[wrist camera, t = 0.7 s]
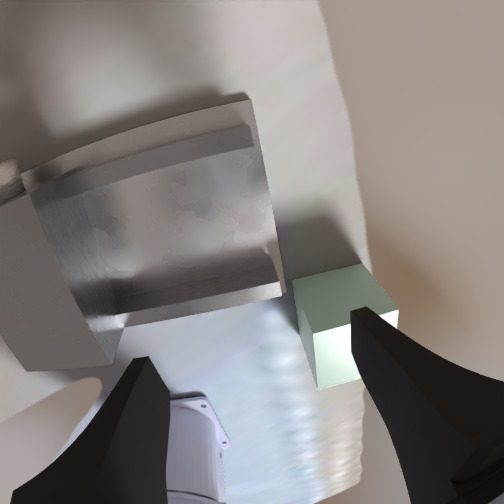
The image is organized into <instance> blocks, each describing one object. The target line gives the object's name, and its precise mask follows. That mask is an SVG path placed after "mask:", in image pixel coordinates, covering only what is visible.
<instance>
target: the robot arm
mask: <svg viewBox="0 0 504 504" xmlns="http://www.w3.org/2000/svg"><path fill="white" fill-rule="evenodd" d="M350 322H351V353H352V356H353V358H354V361H355V364H356V366H357V369H358V371H359V374H360V376H361V378H362V380H363V382H364V384H365V386H366V388H367V389H368V391H369V393H370V395H371V397H372V399H373V401H374V403H375V405H376V407H377V409H378V410H379V412H380V414H381V416H382V418H383V420H384V422H385V424H386V426H387V429H388V431H389V434H390V436H391V439H392V442H393V445H394V447H395V450H396V453H397V456H398V459H399V462H400V465H401V468H402V472H403V475H404V479H405V482H406V486H407V489H408V493H409V497H410V501H411V504H504V382H503V381H500V380H496V379H493V378H490V377H486V376H483V375H480V374H478V373H475V372H473V371H470V370H468V369H465V368H463V367H461V366H458V365H456V364H454V363H452V362H450V361H448V360H446V359H444V358H442V357H440V356H438V355H437V354H435V353H433V352H431V351H430V350H428V349H426V348H425V347H423V346H421V345H420V344H418V343H417V342H415V341H414V340H412V339H411V338H409V337H408V336H406V335H405V334H404V333H402V332H401V331H399V330H398V329H396V328H395V327H394V326H392V325H391V324H390V323H388V322H387V321H386V320H384V319H383V318H382V317H380V316H379V315H378V314H376V313H375V312H374V311H372V310H371V309H370V308H368V307H367V306H365V307H362V308H359V309H355V310H352V311H350ZM228 448H231V442H230V441H229V439H228V437H227V435H226V433H225V431H224V430H223V428H222V426H221V424H220V422H219V420H218V418H217V417H216V415H215V413H214V411H213V409H212V407H211V405H210V403H209V401H208V399H207V398H206V397H203V396H200V397H193V398H185V399H177V400H170V391H169V390H168V388H167V387H166V385H165V383H164V382H163V380H162V378H161V377H160V375H159V373H158V372H157V370H156V368H155V367H154V365H153V363H152V362H151V360H150V358H149V356H147V357H141V358H134V359H133V360H132V362H131V363H130V364H129V366H128V367H127V369H126V370H125V372H124V374H123V375H122V377H121V378H120V380H119V381H118V383H117V384H116V386H115V387H114V389H113V390H112V392H111V393H110V395H109V396H108V398H107V399H106V401H105V402H104V404H103V405H102V407H101V408H100V409H99V411H98V412H97V414H96V415H95V416H94V418H93V419H92V420H91V422H90V423H89V424H88V426H87V427H86V428H85V429H84V431H83V432H82V433H81V434H80V435H79V436H78V438H77V439H76V440H75V441H74V442H73V443H72V444H71V445H70V446H69V447H68V448H67V449H66V450H65V451H64V452H63V453H62V454H61V455H60V456H59V457H58V458H57V459H56V460H55V461H54V462H53V463H52V464H50V465H49V466H48V467H47V468H46V469H45V470H43V471H42V472H41V473H39V474H38V475H37V476H35V477H34V478H33V479H31V480H30V481H28V482H26V483H25V484H23V485H22V486H21V487H19V488H17V489H15V490H14V491H13V494H12V498H11V502H10V504H226V502H223V501H224V498H225V480H224V466H223V450H222V449H228Z"/></svg>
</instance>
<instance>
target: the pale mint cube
mask: <svg viewBox="0 0 504 504" xmlns="http://www.w3.org/2000/svg"><path fill="white" fill-rule="evenodd" d="M292 286H293V293H294V299H295V306H296V313H297V320H298V327H299V334H300V338H301V341H302V344H303V347H304V350H305V353H306V356H307V359H308V362H309V365H310V368H311V371H312V374H313V377H314V380H315V383H316V386H317V389H318V390H322V389H325V388H329V387H333V386H336V385H340V384H343V383H346V382H350V381H353V380H356V379H360V378H361V376H360V374H359V371H358V369H357V366H356V364H355V361H354V358H353V356H352V353H351V322H350V311H352V310H355V309H359V308H362V307H365V306H367V307H368V308H370V309H371V310H372V311H374V312H375V313H376V314H378V315H379V316H380V317H382V318H383V319H384V320H386V321H387V322H388V323H390V324H391V325H392V326H394V327H395V328H396V329H397V321H398V311H399V309H398V308H397V307H396V305H395V304H394V303H393V301H392V300H391V299H390V298H389V296H388V295H387V294H386V292H385V291H384V290H383V288H382V287H381V286H380V285H379V283H378V282H377V281H376V280H375V278H374V277H373V276H372V275H371V273H370V272H369V271H368V270H367V268H366V267H365V266H364V265H363V263H360V264H356V265H352V266H348V267H344V268H340V269H336V270H332V271H328V272H323V273H319V274H315V275H311V276H307V277H302V278H298V279H294V280H292Z"/></svg>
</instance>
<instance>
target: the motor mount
mask: <svg viewBox="0 0 504 504" xmlns="http://www.w3.org/2000/svg"><path fill="white" fill-rule="evenodd" d="M282 293H287V291H286V285H285V279H284V273H283V267H282V261H281V255H280V249H279V243H278V238H277V232H276V226H275V221H274V215H273V210H272V204H271V199H270V193H269V188H268V182H267V177H266V172H265V166H264V161H263V156H262V151H261V146H260V141H259V136H258V130H257V125H256V120H255V115H254V111H253V106H252V101H251V99H250V100H245V101H239V102H234V103H229V104H225V105H220V106H216V107H211V108H207V109H203V110H198V111H194V112H190V113H186V114H182V115H179V116H175V117H171V118H168V119H164V120H161V121H157V122H154V123H150V124H147V125H144V126H140V127H137V128H134V129H131V130H128V131H125V132H122V133H119V134H116V135H113V136H110V137H107V138H105V139H102V140H99V141H96V142H94V143H91V144H88V145H86V146H83V147H80V148H78V149H75V150H73V151H70V152H68V153H65V154H63V155H61V156H58V157H56V158H54V159H51V160H49V161H47V162H44V163H42V164H40V165H38V166H36V167H33V168H31V169H29V170H27V171H25V172H23V173H21V174H20V171H19V168H18V164H17V161H16V157H13V158H11V159H8V160H6V161H4V162H2V163H0V334H1V335H2V337H3V339H4V340H5V342H6V343H7V345H8V346H9V348H10V349H11V350H12V352H13V353H14V355H15V356H16V358H17V359H18V360H19V362H20V363H21V365H22V366H23V367H24V369H25V370H26V371H27V372H29V371H48V370H62V369H75V368H86V367H96V366H106V365H112V364H113V360H114V357H115V354H116V351H117V347H118V344H119V341H120V338H121V335H122V332H123V329H124V327H129V326H135V325H141V324H147V323H152V322H158V321H163V320H169V319H174V318H179V317H185V316H190V315H195V314H200V313H205V312H210V311H215V310H220V309H225V308H229V307H234V306H239V305H244V304H248V303H253V302H257V301H262V300H266V299H271V298H275V297H280V296H282Z"/></svg>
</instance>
